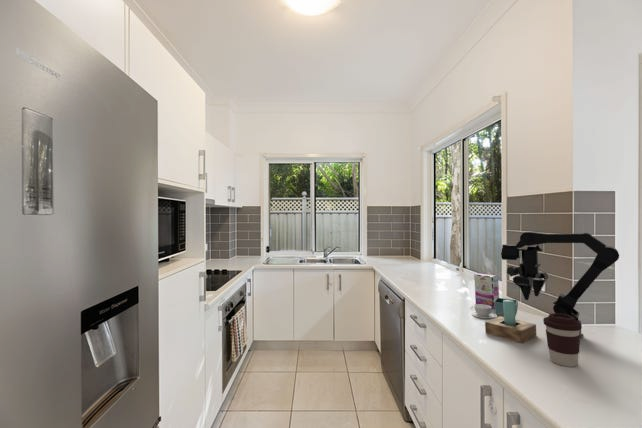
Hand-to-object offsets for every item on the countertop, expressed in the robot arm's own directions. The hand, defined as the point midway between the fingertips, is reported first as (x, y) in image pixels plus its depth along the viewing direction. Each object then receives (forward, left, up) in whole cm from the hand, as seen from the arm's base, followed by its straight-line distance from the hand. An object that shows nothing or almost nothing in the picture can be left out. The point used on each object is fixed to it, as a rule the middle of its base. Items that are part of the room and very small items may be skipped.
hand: (531, 298), depth 132 cm
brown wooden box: (+3, +13, -13) cm, 19 cm away
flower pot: (+12, -3, -13) cm, 18 cm away
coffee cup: (-19, +25, -13) cm, 34 cm away
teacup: (+22, -2, -13) cm, 26 cm away
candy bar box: (+30, -20, -13) cm, 38 cm away
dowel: (+3, +13, -13) cm, 18 cm away
